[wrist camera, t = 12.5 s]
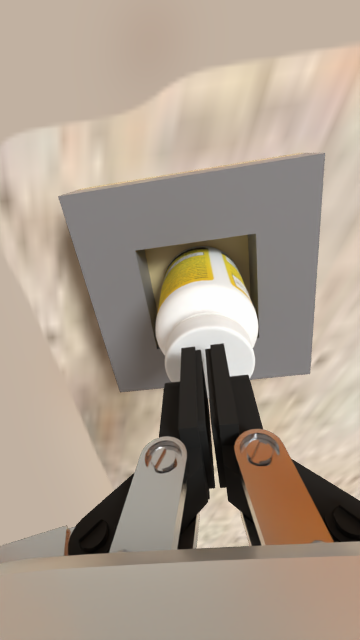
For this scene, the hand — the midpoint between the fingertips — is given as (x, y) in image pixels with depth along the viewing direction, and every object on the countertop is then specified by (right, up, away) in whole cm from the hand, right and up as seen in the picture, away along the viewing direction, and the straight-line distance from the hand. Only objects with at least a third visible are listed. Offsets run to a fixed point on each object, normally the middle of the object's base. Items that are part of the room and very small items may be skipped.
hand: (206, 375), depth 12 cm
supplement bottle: (+1, +5, +10) cm, 11 cm away
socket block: (0, +6, +11) cm, 12 cm away
